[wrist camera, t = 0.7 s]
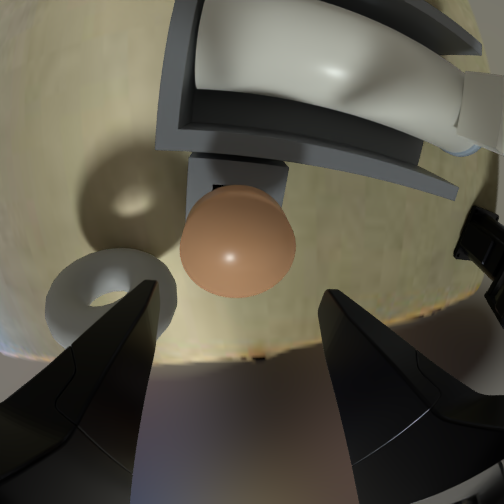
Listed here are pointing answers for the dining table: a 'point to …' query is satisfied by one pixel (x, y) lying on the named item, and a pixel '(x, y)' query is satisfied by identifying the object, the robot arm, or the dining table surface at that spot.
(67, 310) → the donut
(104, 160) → the dining table surface
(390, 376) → the robot arm
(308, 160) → the housing
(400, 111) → the cartridge
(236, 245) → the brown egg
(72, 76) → the dining table surface
